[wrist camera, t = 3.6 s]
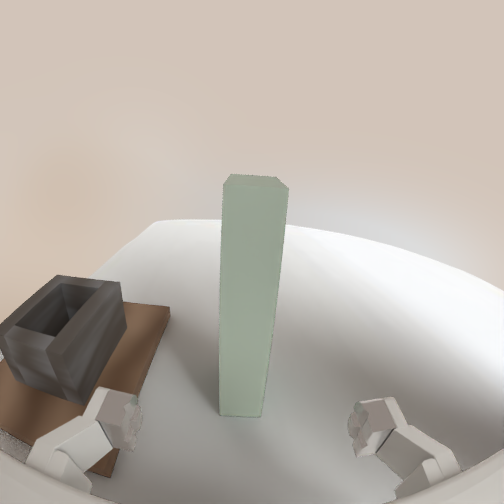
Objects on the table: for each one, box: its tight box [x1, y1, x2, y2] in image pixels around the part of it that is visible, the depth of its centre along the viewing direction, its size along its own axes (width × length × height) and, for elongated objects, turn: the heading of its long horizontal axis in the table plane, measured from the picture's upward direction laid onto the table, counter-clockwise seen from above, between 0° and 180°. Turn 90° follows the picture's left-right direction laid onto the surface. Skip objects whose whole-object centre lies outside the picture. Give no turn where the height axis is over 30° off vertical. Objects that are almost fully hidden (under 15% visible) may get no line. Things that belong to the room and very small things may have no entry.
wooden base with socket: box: [0, 275, 170, 478], centre depth 19 cm, size 14×20×6 cm
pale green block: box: [219, 174, 289, 417], centre depth 18 cm, size 3×6×16 cm, turn 1°
